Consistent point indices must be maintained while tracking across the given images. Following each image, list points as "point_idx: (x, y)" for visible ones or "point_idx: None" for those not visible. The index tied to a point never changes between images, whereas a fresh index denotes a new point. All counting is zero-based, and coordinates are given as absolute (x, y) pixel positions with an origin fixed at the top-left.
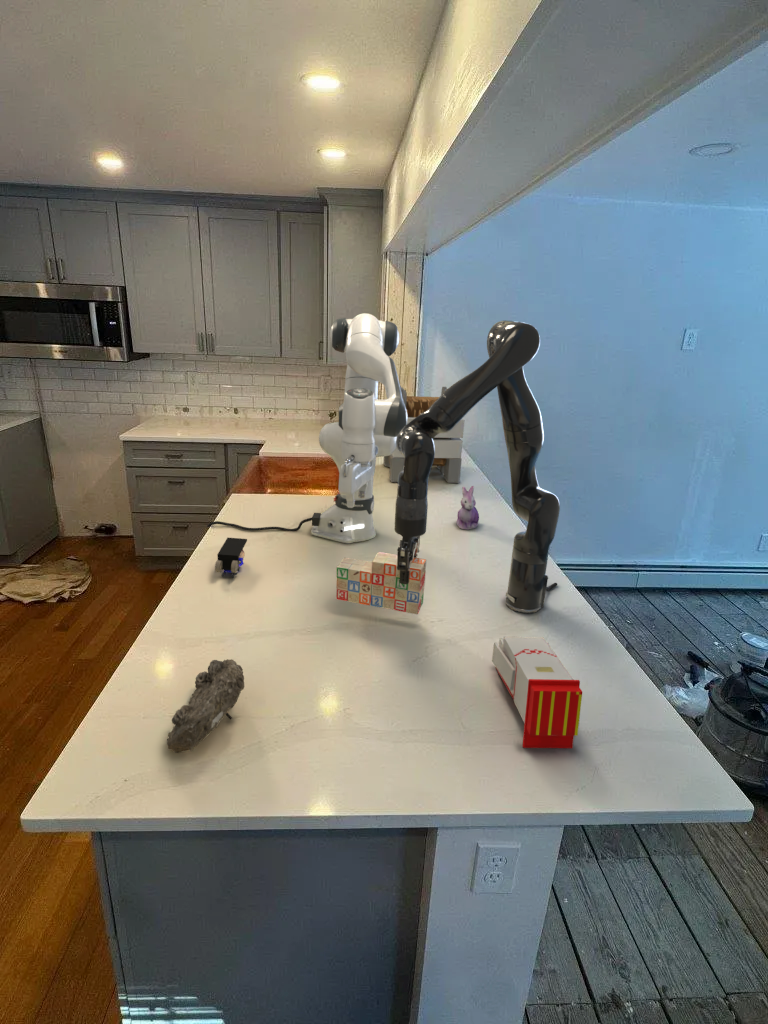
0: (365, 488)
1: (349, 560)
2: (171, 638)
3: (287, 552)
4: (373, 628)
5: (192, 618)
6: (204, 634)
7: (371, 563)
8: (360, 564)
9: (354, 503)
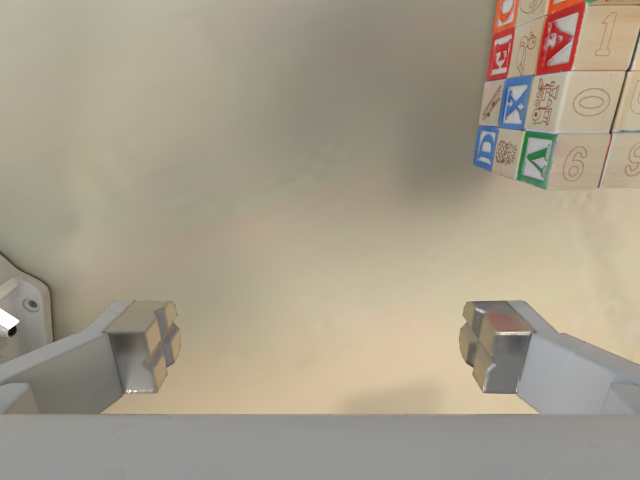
0: (67, 359)
1: (576, 156)
2: None
3: (199, 401)
4: None
5: None
6: None
7: (598, 37)
8: (617, 90)
9: (497, 314)
